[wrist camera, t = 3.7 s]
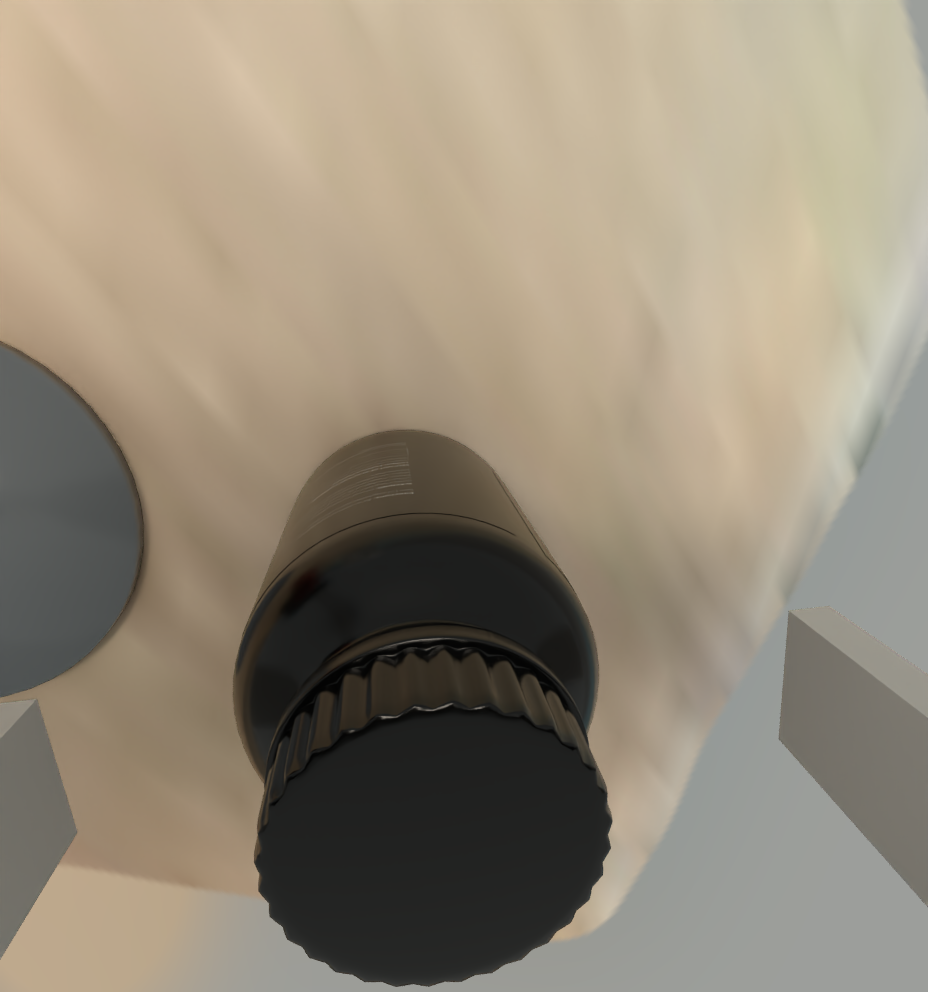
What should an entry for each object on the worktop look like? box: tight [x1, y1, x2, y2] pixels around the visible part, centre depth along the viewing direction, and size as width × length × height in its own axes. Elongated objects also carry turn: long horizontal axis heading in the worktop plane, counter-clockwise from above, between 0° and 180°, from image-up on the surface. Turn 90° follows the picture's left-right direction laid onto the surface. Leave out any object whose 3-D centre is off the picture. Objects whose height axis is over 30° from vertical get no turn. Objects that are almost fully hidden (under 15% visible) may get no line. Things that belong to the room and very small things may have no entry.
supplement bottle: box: [233, 430, 612, 987], centre depth 14 cm, size 7×7×12 cm
